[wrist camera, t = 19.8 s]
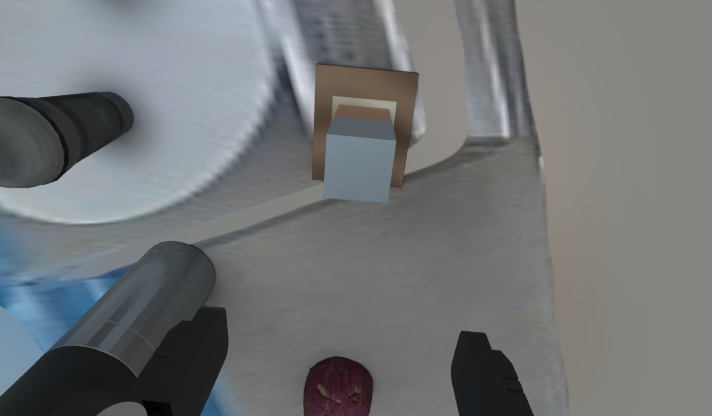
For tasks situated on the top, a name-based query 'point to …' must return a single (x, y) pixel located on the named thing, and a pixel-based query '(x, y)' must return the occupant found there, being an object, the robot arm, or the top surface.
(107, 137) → the beverage cup
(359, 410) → the vegetable
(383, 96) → the board
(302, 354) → the top surface
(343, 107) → the terracotta block
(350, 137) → the slate block
